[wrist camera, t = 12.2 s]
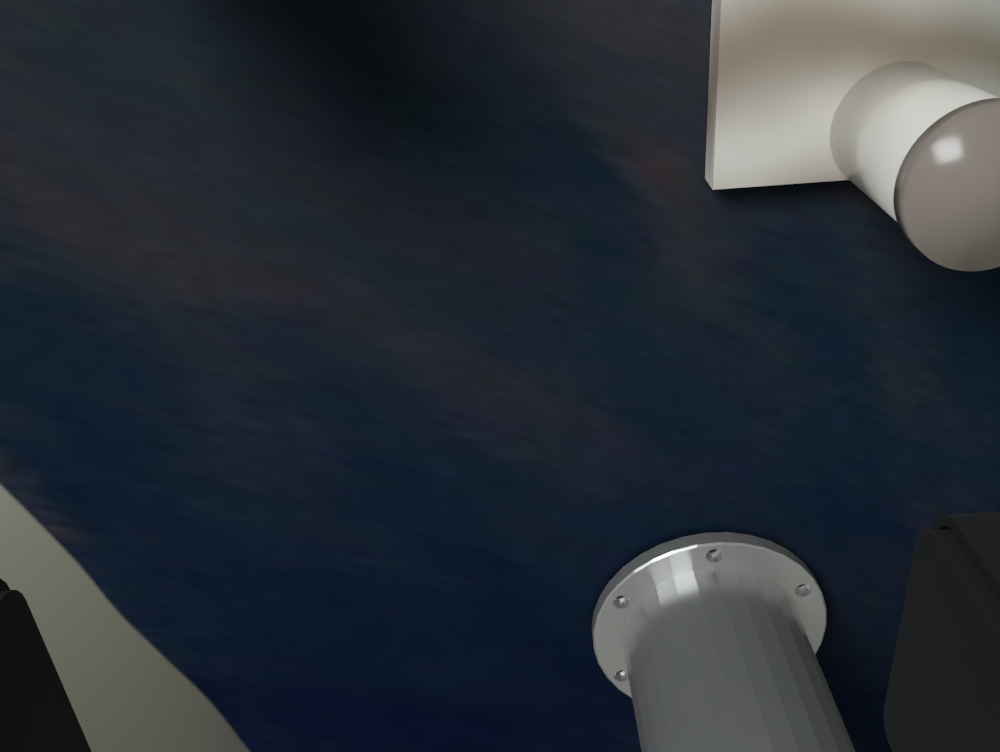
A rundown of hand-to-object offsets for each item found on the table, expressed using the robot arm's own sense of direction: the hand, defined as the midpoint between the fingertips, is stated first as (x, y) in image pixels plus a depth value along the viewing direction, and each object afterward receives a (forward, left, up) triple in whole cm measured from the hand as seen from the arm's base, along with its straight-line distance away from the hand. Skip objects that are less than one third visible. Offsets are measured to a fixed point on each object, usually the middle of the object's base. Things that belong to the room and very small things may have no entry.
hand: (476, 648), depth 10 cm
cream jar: (-3, -16, -29) cm, 33 cm away
